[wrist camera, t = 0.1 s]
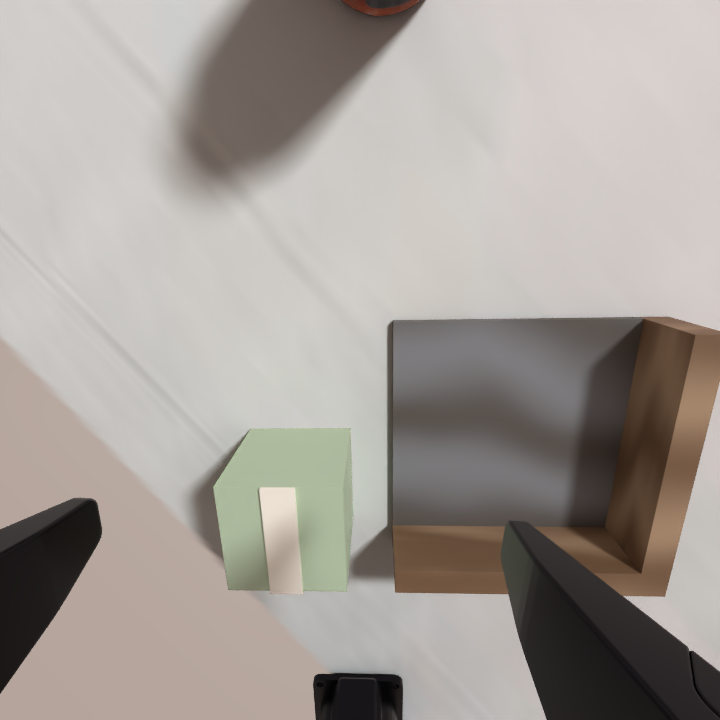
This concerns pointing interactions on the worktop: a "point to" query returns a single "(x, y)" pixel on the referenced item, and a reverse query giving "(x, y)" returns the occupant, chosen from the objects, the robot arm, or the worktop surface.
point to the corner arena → (546, 444)
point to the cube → (287, 511)
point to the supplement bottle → (380, 6)
